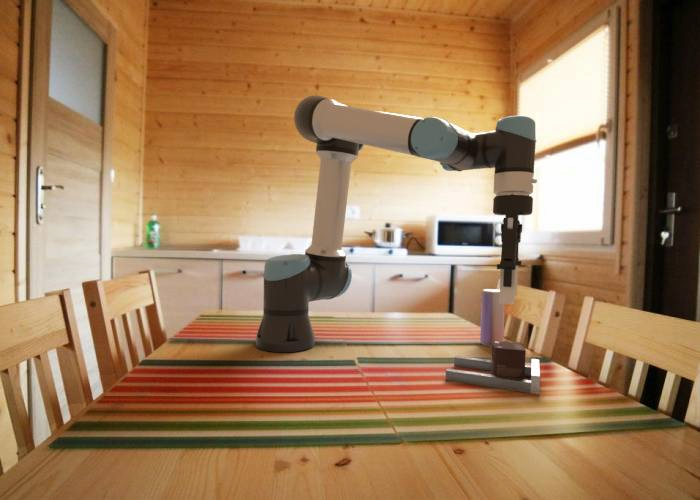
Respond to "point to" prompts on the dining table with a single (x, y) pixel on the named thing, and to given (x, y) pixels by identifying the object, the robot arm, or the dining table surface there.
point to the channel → (493, 380)
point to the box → (508, 359)
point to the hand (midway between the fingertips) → (508, 299)
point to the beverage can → (491, 317)
